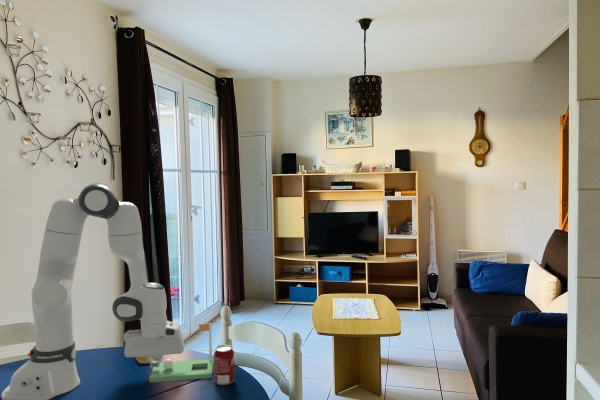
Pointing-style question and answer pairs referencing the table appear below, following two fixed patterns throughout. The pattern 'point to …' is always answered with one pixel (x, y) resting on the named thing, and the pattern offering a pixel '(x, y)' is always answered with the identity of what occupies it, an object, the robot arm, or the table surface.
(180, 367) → the green
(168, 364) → the ball
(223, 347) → the soda can
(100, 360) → the table surface
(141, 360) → the bread roll
